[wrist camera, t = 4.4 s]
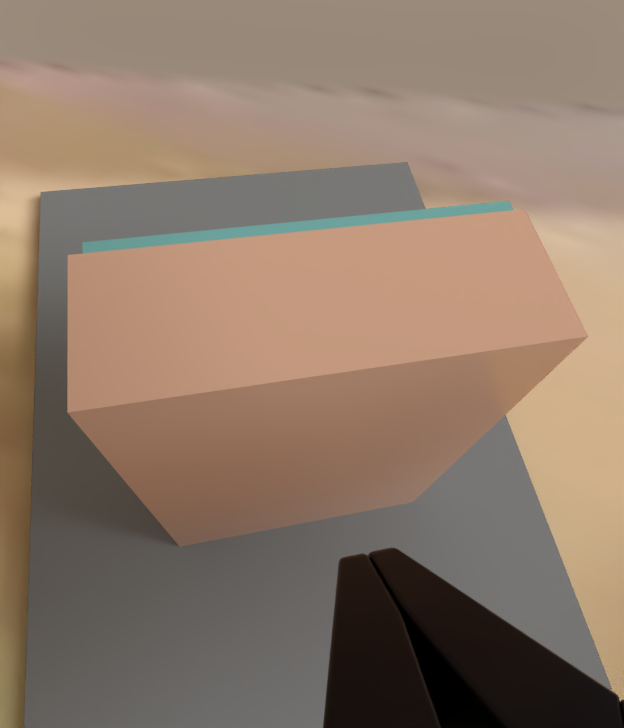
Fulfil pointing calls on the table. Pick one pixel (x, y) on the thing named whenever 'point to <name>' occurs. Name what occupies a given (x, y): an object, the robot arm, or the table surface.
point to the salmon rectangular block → (307, 359)
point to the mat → (249, 551)
